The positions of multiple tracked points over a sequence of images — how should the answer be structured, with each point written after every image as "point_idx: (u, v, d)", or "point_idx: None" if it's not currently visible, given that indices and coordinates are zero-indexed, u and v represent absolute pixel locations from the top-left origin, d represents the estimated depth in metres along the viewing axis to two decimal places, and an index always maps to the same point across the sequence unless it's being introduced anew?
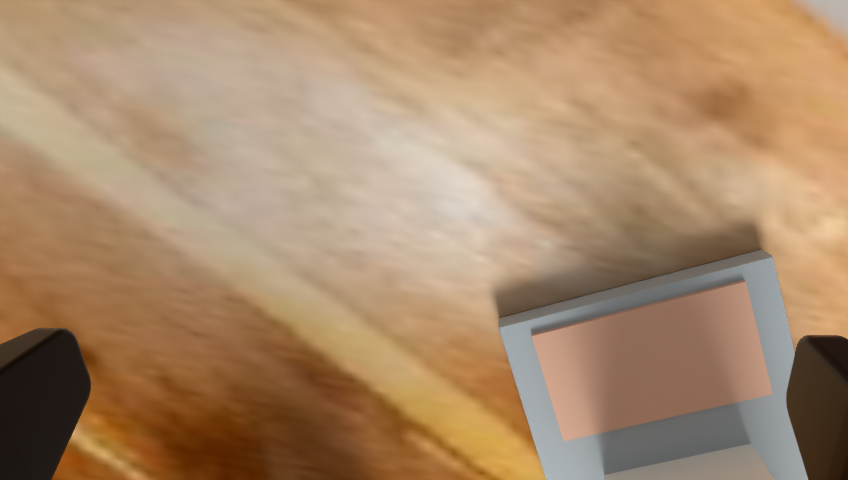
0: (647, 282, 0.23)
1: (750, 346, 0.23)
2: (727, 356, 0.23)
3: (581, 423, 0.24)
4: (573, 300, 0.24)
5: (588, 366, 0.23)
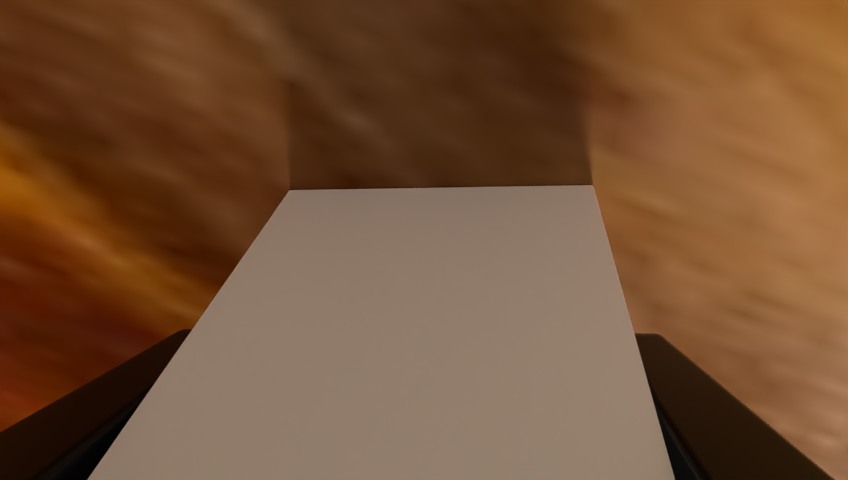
0: None
1: None
2: None
3: None
4: None
5: None
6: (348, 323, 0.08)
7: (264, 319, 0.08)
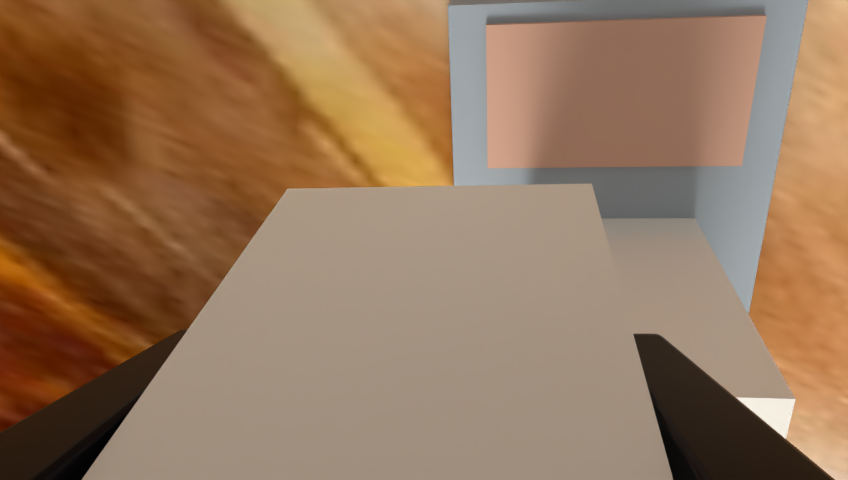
0: None
1: (739, 101, 0.18)
2: (708, 107, 0.19)
3: (514, 150, 0.20)
4: None
5: (543, 82, 0.19)
6: (346, 322, 0.08)
7: (262, 318, 0.08)
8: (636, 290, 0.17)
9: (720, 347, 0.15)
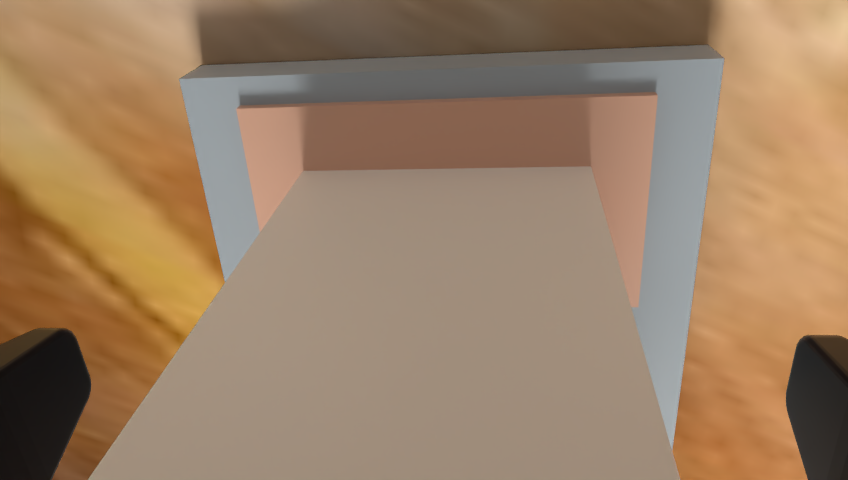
0: (482, 57, 0.12)
1: (627, 219, 0.12)
2: None
3: None
4: (339, 62, 0.12)
5: None
6: (364, 287, 0.09)
7: (285, 284, 0.09)
8: None
9: None
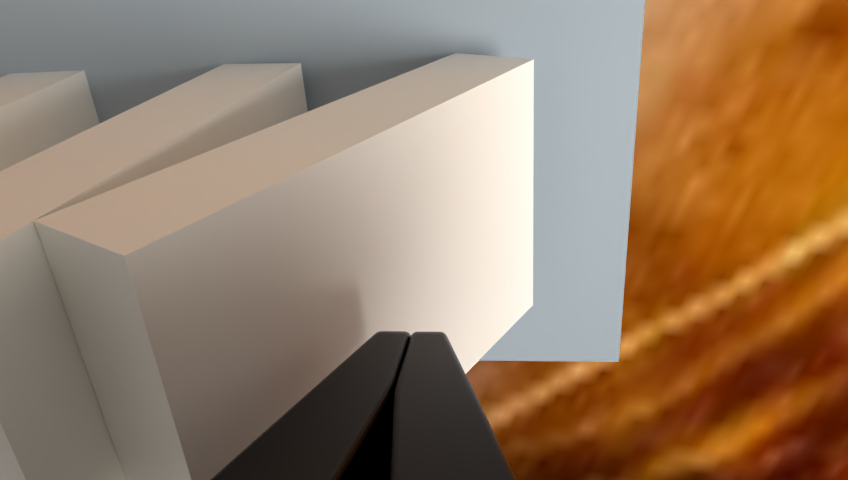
0: None
1: None
2: None
3: None
4: None
5: None
6: None
7: None
8: None
9: None
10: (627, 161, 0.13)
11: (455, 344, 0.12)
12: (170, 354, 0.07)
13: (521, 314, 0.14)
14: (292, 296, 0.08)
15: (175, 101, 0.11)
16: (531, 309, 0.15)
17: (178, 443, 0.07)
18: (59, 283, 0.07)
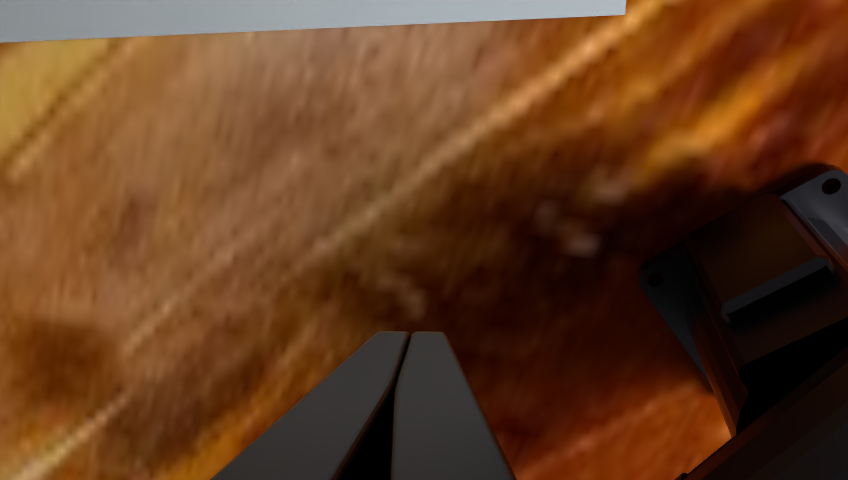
0: None
1: None
2: None
3: None
4: None
5: None
6: None
7: None
8: None
9: None
10: None
11: None
12: None
13: None
14: None
15: None
16: None
17: None
18: None
